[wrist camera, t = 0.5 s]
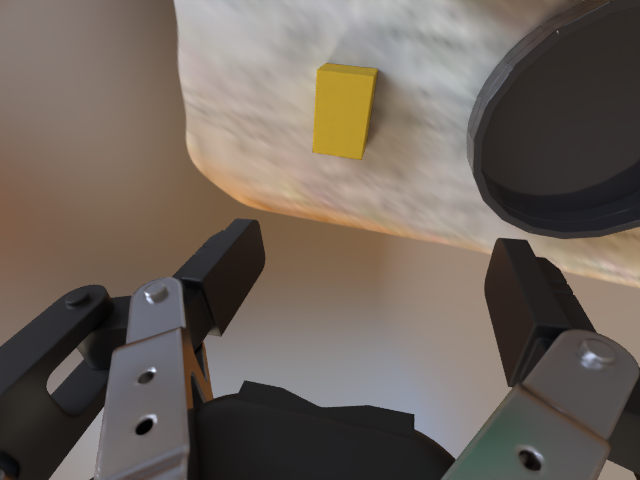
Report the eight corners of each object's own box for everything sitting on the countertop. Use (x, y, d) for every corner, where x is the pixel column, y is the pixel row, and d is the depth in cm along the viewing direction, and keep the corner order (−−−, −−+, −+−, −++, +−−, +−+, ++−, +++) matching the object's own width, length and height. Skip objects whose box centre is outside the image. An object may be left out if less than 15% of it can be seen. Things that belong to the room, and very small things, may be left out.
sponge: (325, 62, 25) (316, 69, 22) (378, 68, 24) (374, 76, 22) (320, 140, 28) (312, 152, 26) (365, 146, 28) (361, 160, 25)
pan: (516, -20, 20) (532, -24, 17) (813, 0, 17) (887, 0, 15) (442, 198, 29) (444, 218, 26) (630, 229, 27) (655, 255, 24)
